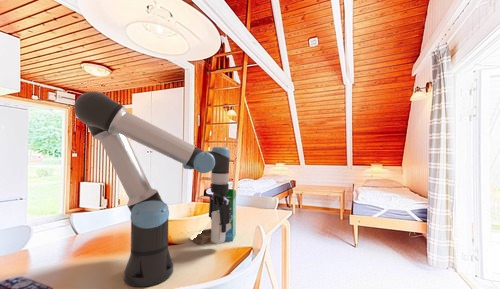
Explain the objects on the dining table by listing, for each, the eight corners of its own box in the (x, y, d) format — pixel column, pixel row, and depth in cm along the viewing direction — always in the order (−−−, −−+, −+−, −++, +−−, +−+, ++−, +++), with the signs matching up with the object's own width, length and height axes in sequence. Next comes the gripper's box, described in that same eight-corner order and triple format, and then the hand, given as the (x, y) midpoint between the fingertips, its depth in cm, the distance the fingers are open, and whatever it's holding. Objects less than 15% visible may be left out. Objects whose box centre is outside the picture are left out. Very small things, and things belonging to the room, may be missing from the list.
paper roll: (215, 244, 100) (216, 214, 100) (208, 239, 105) (209, 210, 105) (227, 241, 103) (228, 212, 104) (220, 236, 108) (221, 209, 108)
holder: (198, 245, 109) (198, 239, 109) (188, 238, 117) (188, 232, 117) (224, 238, 118) (224, 232, 118) (214, 232, 125) (214, 227, 126)
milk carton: (235, 235, 123) (236, 185, 123) (232, 242, 114) (233, 188, 114) (218, 234, 124) (218, 185, 124) (213, 241, 115) (214, 188, 115)
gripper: (239, 185, 99) (237, 242, 99) (216, 179, 114) (214, 229, 114) (224, 186, 95) (222, 246, 94) (201, 180, 110) (200, 232, 109)
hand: (218, 237), depth 104 cm, fingers closed on paper roll, 6 cm apart
